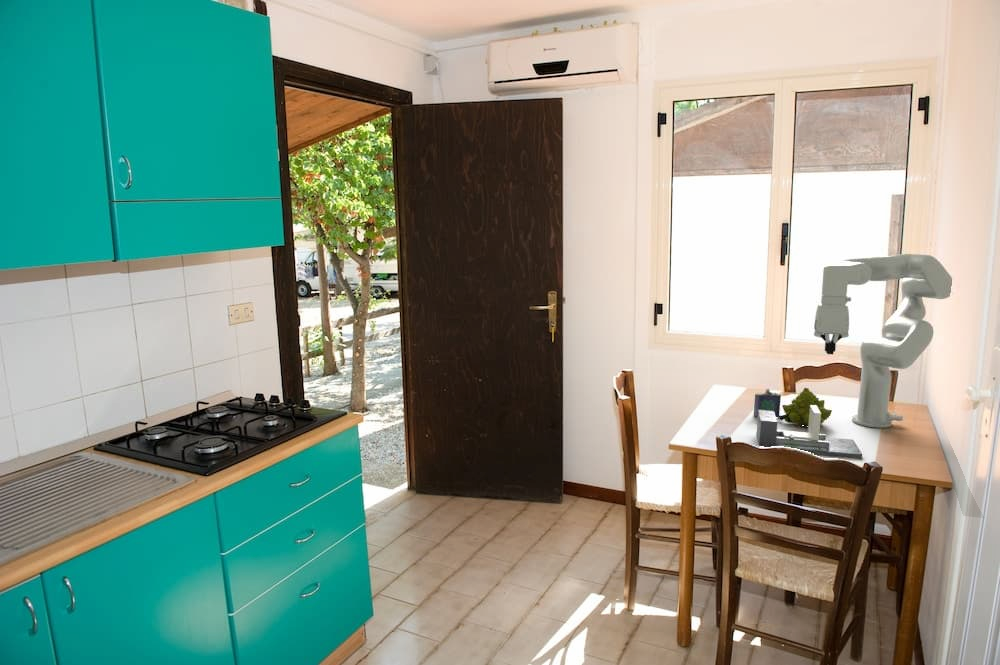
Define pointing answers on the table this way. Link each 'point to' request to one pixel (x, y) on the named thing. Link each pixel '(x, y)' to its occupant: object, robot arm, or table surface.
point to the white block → (812, 426)
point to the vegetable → (804, 409)
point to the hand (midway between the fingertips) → (829, 353)
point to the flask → (767, 402)
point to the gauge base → (824, 445)
